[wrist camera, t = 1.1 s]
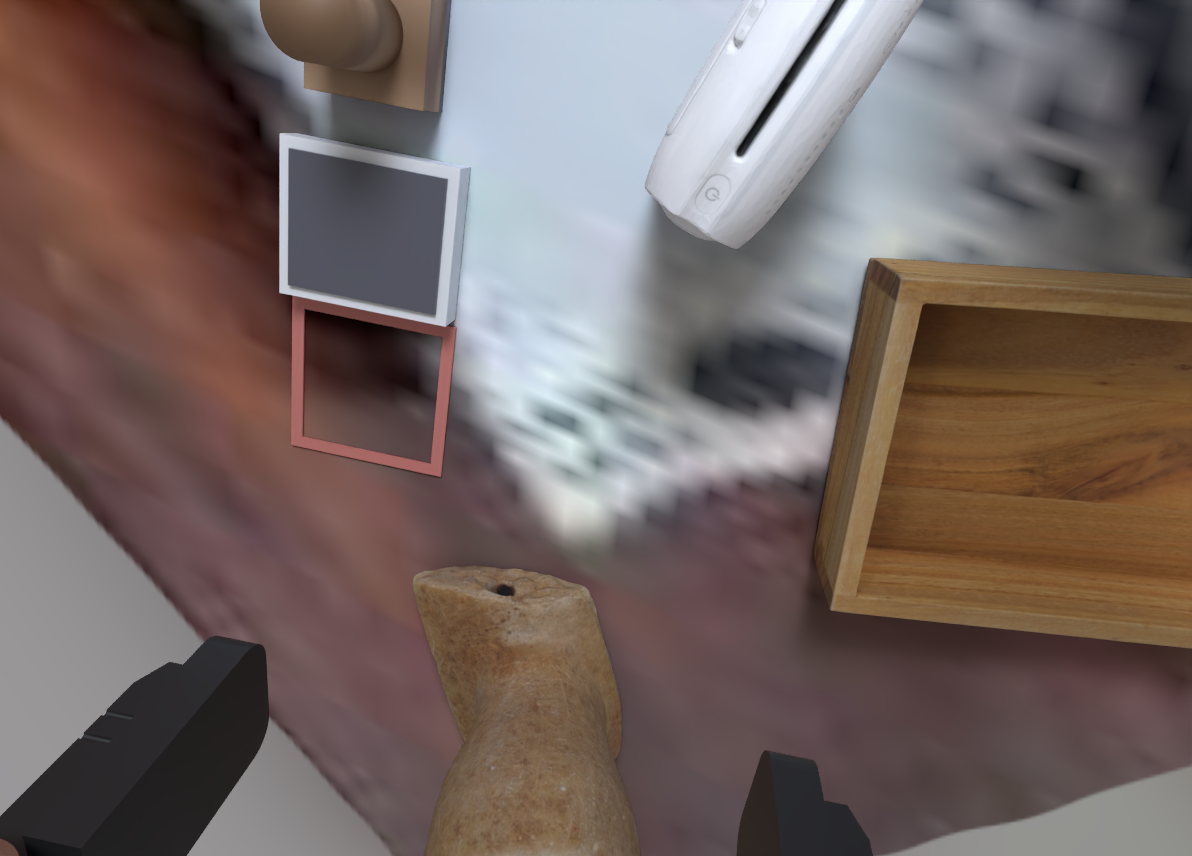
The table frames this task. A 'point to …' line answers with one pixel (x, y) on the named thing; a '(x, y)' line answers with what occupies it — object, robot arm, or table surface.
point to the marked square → (446, 332)
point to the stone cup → (525, 717)
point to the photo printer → (768, 109)
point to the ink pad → (371, 228)
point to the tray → (1015, 453)
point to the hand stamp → (366, 47)
